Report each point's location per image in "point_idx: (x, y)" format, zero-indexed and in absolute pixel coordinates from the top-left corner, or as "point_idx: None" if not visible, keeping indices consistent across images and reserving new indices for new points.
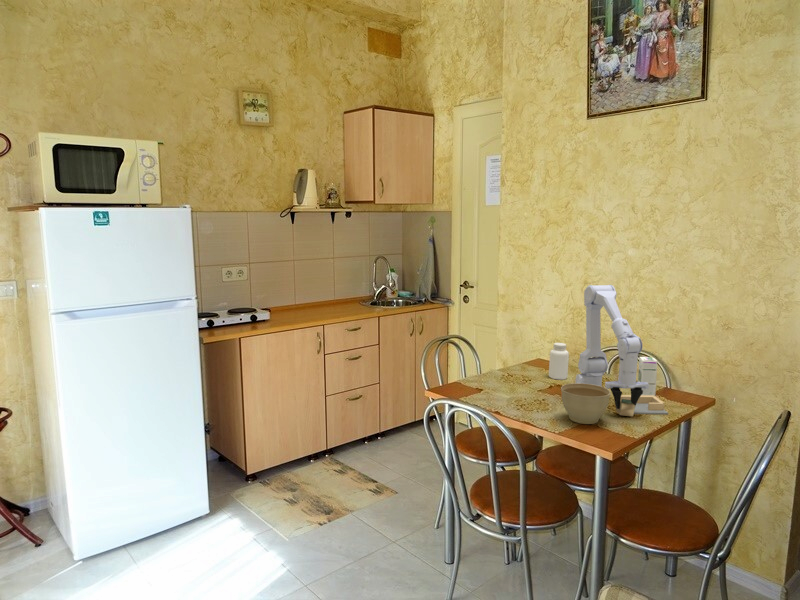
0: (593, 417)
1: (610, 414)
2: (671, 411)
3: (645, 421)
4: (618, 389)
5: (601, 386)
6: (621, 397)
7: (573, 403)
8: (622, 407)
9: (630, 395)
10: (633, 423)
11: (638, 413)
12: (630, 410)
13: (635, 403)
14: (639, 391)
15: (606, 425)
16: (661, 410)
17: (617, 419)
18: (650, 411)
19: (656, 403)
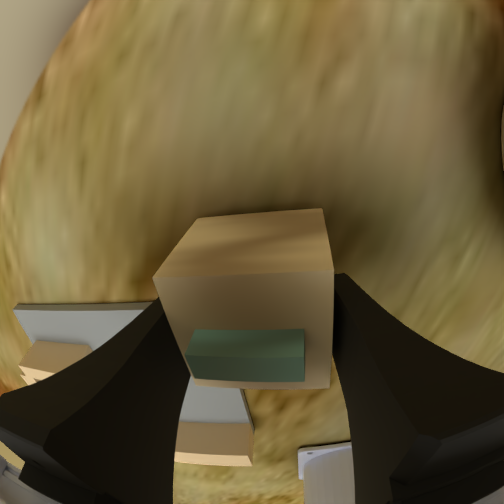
0: None
1: (370, 268)
2: (19, 339)
3: (114, 146)
4: (429, 488)
5: (309, 500)
6: (231, 451)
7: None
8: (318, 246)
9: (178, 459)
10: (229, 65)
11: (147, 303)
12: (216, 239)
13: (141, 319)
14: (10, 428)
15: (464, 24)
16: (40, 339)
17: (355, 153)
18: (79, 327)
19: (42, 372)
